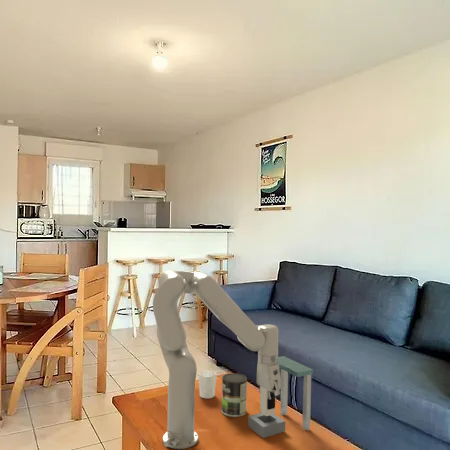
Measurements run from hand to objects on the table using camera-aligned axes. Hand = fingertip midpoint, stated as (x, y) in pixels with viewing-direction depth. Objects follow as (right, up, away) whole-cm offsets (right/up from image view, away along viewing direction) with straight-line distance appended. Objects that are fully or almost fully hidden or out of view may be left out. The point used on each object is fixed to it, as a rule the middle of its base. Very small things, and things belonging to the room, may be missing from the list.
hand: (267, 405), depth 163 cm
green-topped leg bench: (+9, -9, +5) cm, 14 cm away
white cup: (-24, -8, +30) cm, 39 cm away
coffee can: (-12, -9, +15) cm, 21 cm away
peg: (0, -3, 0) cm, 3 cm away
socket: (0, -9, 0) cm, 9 cm away
